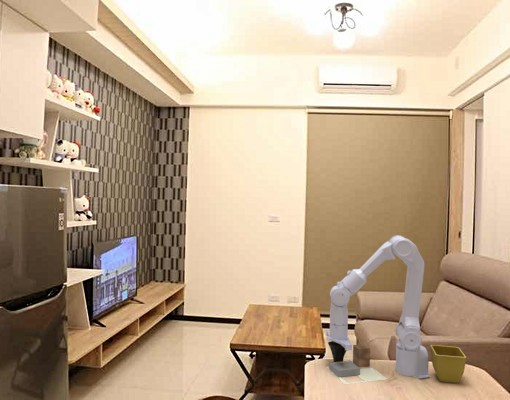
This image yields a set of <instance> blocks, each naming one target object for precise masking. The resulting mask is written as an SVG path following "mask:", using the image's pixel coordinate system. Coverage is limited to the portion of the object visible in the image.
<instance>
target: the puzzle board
mask: <svg viewBox="0 0 510 400" xmlns="http://www.w3.org/2000/svg"><path fill="white" fill-rule="evenodd" d="M325 368H326V369H327V370H329V371H330V373H331V374H332V375H334V376H335V377H336V378H337V379H338V380H339V381H341V382H342V384H343V385H352V384H359V383H360V384H361V383H370V382H377V381H386V380H388V378H387V377H385V376H384V375H383V374H381V373H380V371H377V369H375V368H373V367H372V365H370V367H360V375H356V376H357V377H359V378H360V379H361V380H360V381H352V382H347V381H346V380H345V379H344V377H337V376H336V375H335V374H334V373H333V372H332V371H331V370H330V369H329V366H325Z"/></svg>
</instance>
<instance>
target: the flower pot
mask: <svg viewBox="0 0 510 400" xmlns="http://www.w3.org/2000/svg"><path fill="white" fill-rule="evenodd" d="M429 347H430V359H431V363H432V367H433V370H434V372H435V373H436V376H437V378H438V380H439V381H440V382H445V383H446V382H447V383H453V384H457V383H459V382H460V381H461V379H462V378H463V375H464V372H465V367H466V362H467V356H466V355H465V354H464V352H463V351H462V350H461V348H460V347H458V346H450V345H449V346H448V345H447V346H446V345H437V344H436V345H435V344H430V345H429Z"/></svg>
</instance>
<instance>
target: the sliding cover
mask: <svg viewBox="0 0 510 400" xmlns="http://www.w3.org/2000/svg"><path fill="white" fill-rule="evenodd" d="M328 367H329V369H330V370H331V371H332V372H333V373H334V374H335V375H336V376H337V377H342V378H344V377H352V376H357V375H360V368H359V367H358V366H356V365H355V364H354V363H353V361H351V360H343V361H340V362H334V361H333V362H331V361H330V362H328ZM330 370H329V371H330ZM331 371H330V372H331ZM332 372H331V373H332ZM333 373H332V374H333ZM334 374H333V375H334ZM335 375H334V376H335ZM336 376H335V377H336ZM337 377H336V378H337Z"/></svg>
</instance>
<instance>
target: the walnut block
mask: <svg viewBox="0 0 510 400" xmlns="http://www.w3.org/2000/svg"><path fill="white" fill-rule="evenodd" d="M352 362H353V363H354V364H355V365H356V366H358V367H359V368H360V367H370V366H371V348H370V347H369V346H368V345H366V344H365V343H360V344H352Z"/></svg>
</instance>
